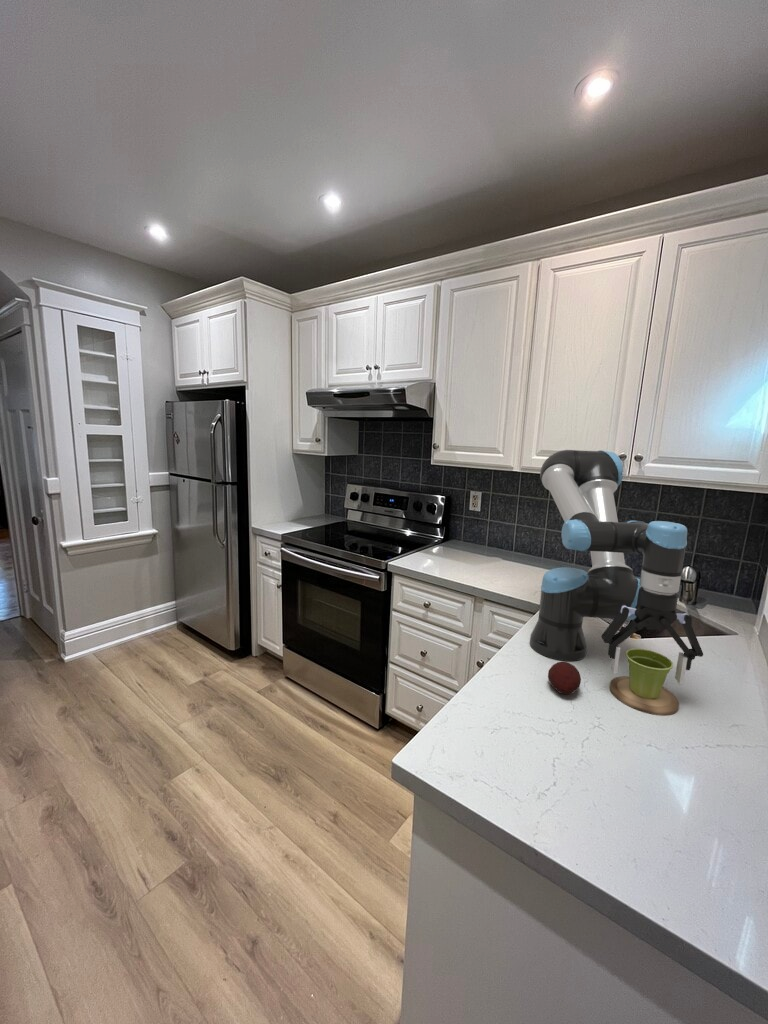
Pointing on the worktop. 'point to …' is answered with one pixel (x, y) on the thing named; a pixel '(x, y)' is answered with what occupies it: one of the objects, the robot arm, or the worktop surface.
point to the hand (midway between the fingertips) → (645, 676)
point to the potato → (564, 677)
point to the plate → (656, 706)
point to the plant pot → (647, 672)
